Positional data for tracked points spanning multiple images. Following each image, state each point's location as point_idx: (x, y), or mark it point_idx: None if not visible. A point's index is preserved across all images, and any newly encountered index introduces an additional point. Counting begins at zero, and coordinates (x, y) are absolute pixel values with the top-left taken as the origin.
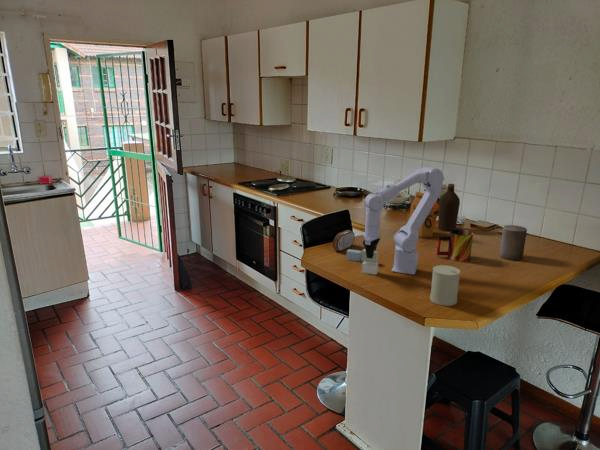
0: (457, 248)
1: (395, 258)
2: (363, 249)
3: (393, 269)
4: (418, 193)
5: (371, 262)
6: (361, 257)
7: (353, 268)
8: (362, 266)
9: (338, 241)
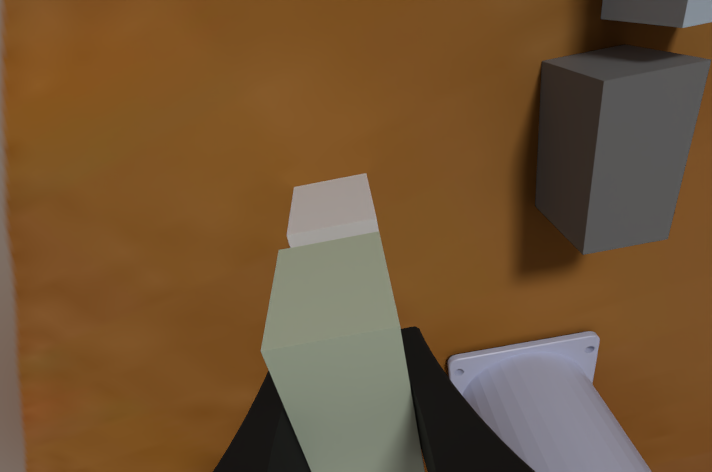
0: None
1: (520, 453)
2: (363, 336)
3: (473, 366)
4: None
5: None
6: (580, 83)
7: (347, 61)
8: (291, 222)
9: None
